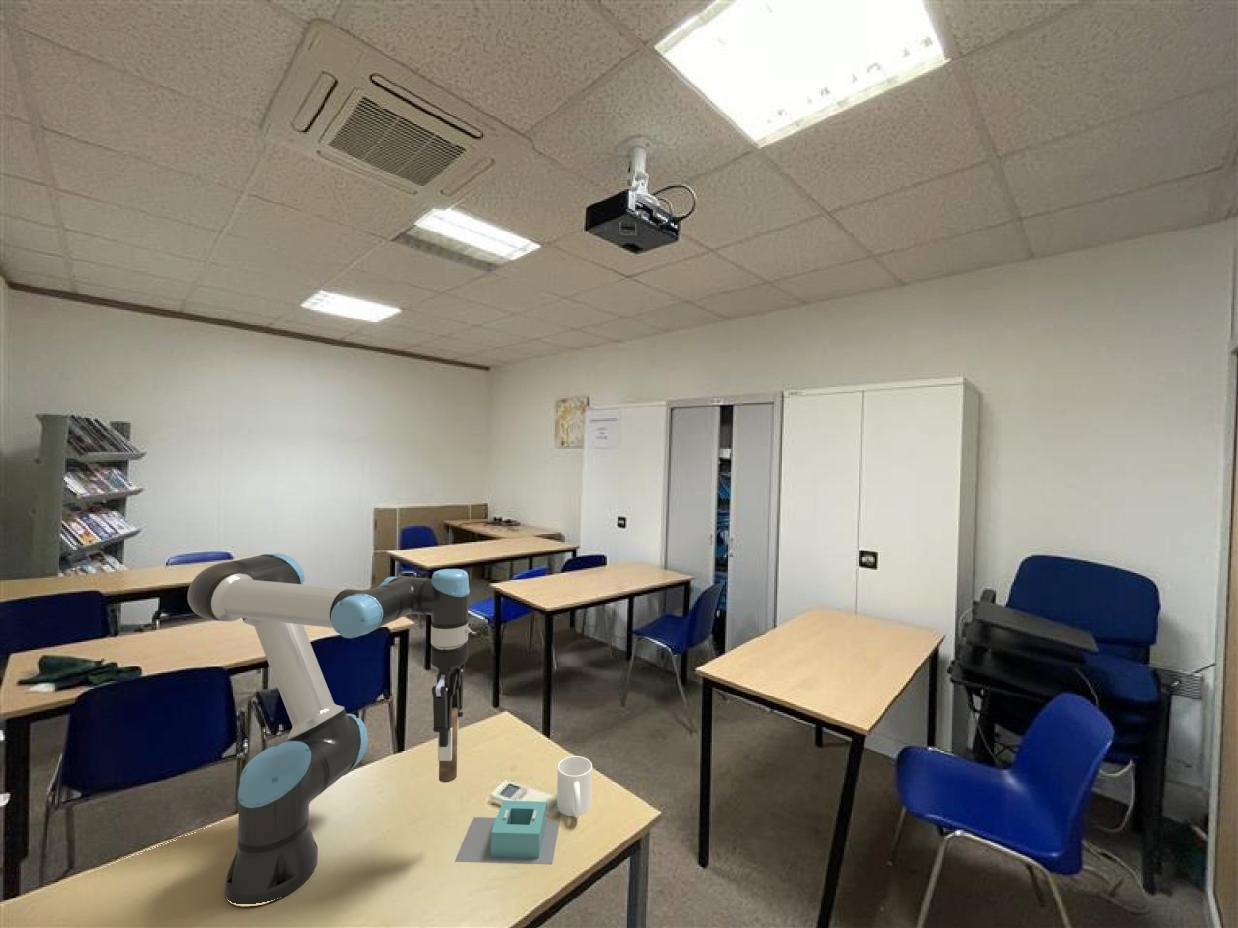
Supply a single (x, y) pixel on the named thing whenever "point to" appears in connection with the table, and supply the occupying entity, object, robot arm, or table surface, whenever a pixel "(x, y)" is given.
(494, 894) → the table surface
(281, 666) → the robot arm
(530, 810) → the teal square peg holder
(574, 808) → the mug
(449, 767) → the wooden rounded dowel
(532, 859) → the board
